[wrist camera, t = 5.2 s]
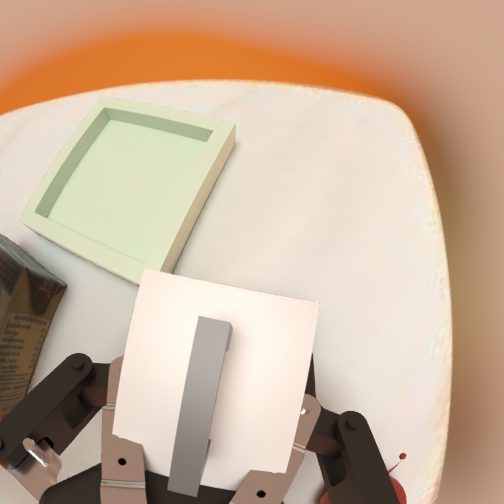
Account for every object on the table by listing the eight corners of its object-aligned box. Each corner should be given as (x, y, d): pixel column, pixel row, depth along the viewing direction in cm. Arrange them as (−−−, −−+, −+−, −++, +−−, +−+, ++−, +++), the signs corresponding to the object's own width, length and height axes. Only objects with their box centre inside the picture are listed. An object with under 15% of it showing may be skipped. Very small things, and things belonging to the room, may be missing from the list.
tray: (35, 232, 19) (19, 221, 17) (110, 114, 23) (102, 96, 21) (161, 296, 19) (151, 289, 16) (235, 144, 22) (235, 123, 20)
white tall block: (179, 399, 17) (72, 488, 4) (197, 308, 18) (113, 232, 6) (256, 415, 17) (291, 542, 4) (274, 323, 18) (352, 278, 6)
